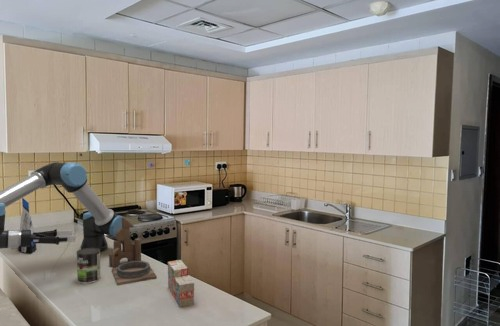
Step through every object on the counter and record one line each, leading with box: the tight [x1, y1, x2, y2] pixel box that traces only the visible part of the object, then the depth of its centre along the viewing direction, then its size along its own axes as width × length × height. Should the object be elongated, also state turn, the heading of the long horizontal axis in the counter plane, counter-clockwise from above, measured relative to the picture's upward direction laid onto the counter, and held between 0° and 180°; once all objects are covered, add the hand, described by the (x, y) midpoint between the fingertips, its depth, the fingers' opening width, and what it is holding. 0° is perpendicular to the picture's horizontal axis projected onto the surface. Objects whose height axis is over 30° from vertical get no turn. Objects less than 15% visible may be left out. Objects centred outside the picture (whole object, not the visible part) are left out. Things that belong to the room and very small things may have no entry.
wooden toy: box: [108, 216, 142, 269], centre depth 197 cm, size 16×7×25 cm, turn 130°
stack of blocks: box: [167, 259, 195, 308], centre depth 159 cm, size 21×6×12 cm, turn 25°
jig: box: [111, 260, 157, 286], centre depth 182 cm, size 20×18×4 cm
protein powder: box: [17, 197, 38, 255], centre depth 221 cm, size 10×24×30 cm, turn 39°
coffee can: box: [76, 248, 101, 285], centre depth 176 cm, size 10×10×14 cm
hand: (73, 235), depth 172 cm, fingers open, 13 cm apart
